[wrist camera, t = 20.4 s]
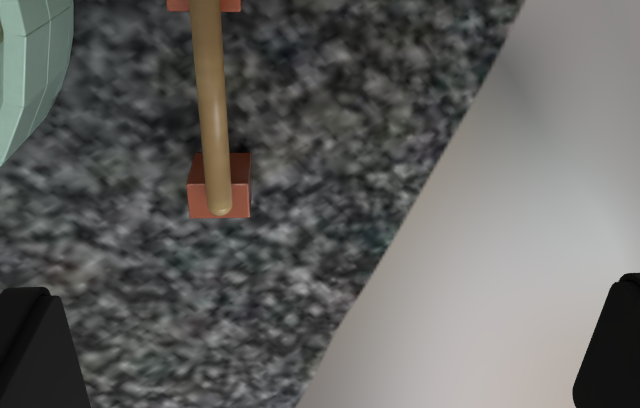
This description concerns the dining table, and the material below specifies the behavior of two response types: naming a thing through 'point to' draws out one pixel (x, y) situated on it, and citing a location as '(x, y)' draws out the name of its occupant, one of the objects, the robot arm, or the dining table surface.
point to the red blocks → (238, 161)
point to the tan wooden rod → (212, 102)
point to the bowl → (31, 66)
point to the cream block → (1, 33)
